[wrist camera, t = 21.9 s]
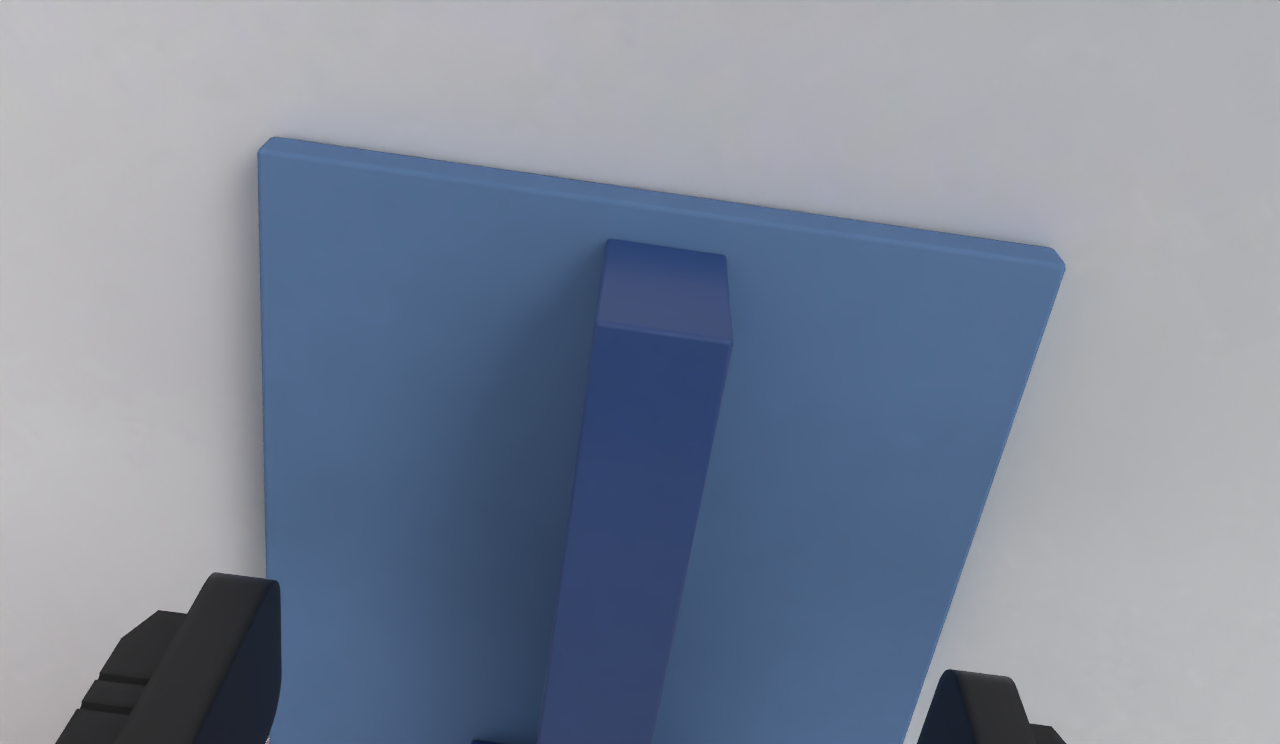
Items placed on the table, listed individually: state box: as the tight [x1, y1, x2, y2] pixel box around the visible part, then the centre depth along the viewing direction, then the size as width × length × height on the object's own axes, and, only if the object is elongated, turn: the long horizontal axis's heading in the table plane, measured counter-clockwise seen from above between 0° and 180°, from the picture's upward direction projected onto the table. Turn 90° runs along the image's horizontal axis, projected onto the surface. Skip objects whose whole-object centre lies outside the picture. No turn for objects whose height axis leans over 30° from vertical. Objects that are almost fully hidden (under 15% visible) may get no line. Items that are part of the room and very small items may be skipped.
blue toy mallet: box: [471, 239, 734, 744], centre depth 16 cm, size 13×4×2 cm, turn 172°
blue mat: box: [257, 137, 1066, 744], centre depth 18 cm, size 14×10×1 cm
